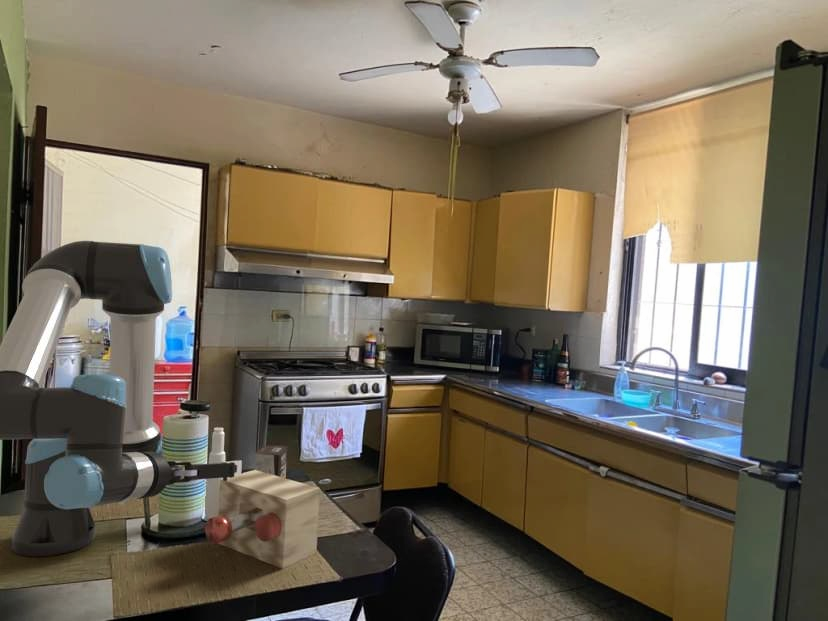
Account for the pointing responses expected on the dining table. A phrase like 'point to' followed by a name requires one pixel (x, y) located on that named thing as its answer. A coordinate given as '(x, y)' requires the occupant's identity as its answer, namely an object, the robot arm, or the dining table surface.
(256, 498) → the block
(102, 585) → the dining table surface
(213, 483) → the cosmetic bottle
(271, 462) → the coffee box
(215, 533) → the knob
